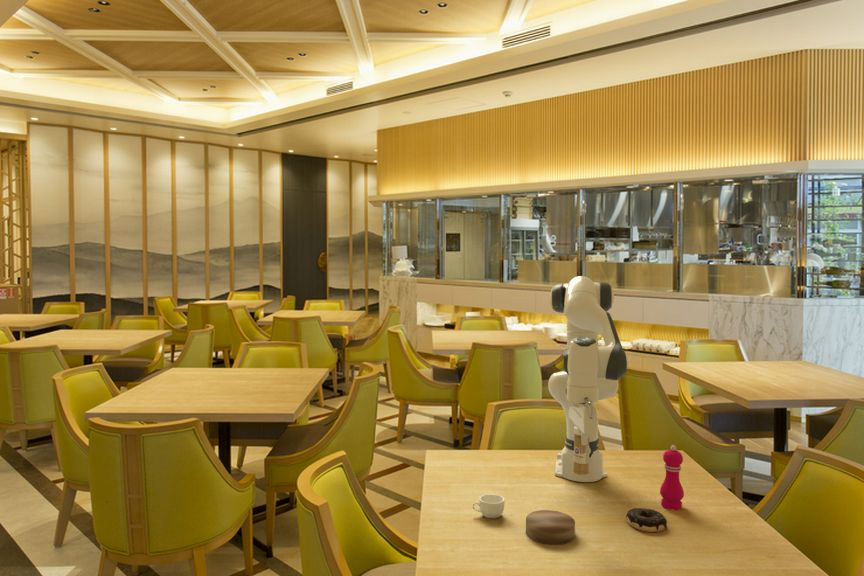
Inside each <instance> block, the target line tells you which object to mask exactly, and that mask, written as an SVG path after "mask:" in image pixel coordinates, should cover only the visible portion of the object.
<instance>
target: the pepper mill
mask: <svg viewBox="0 0 864 576" xmlns="http://www.w3.org/2000/svg"><path fill="white" fill-rule="evenodd" d="M662 460H663V462H664V470H665V477H664V479H663V482H662V483H661V486H660V488H659V494H660V496H661V497H662V498H661V501H660V503H661V504H660V505H661V507H662V508H665V509H667V510H672V511H677V510H681V509H682V508H683V502H682V500H683V499H684V496H685V495H684V493H685V491H684V488H683V486H682V484H681V480H680V472H681V471H682V466H681V464H683V462H684V457H683V454H682V453H681V452H680V451H678V450H677V447H676V445H674V444H672V445H671V446H670V449H667V450H666V451H665V452H663V455H662Z"/></svg>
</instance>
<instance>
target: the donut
mask: <svg viewBox="0 0 864 576" xmlns="http://www.w3.org/2000/svg"><path fill="white" fill-rule="evenodd" d="M625 518H626V519H625V520H626V522H627V523H628V525H630V526H631V527H632V528H634V529H636V530H639V531H642V532H645V533H658V532H661V531H664V530H665V529H667V525H668V520H667V519H666V517H665V516H664V514H663V513H661V512H659V511H658V510H654V509H650V508H644V507H633V508H630V509H629V510H628V511H627V512H626V514H625Z"/></svg>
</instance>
